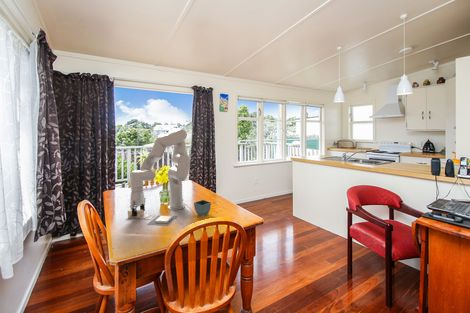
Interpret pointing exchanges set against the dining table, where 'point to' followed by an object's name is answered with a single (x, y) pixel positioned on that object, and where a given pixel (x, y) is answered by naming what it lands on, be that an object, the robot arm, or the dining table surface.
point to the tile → (163, 219)
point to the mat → (161, 223)
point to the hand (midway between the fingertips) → (138, 213)
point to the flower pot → (202, 207)
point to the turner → (140, 214)
